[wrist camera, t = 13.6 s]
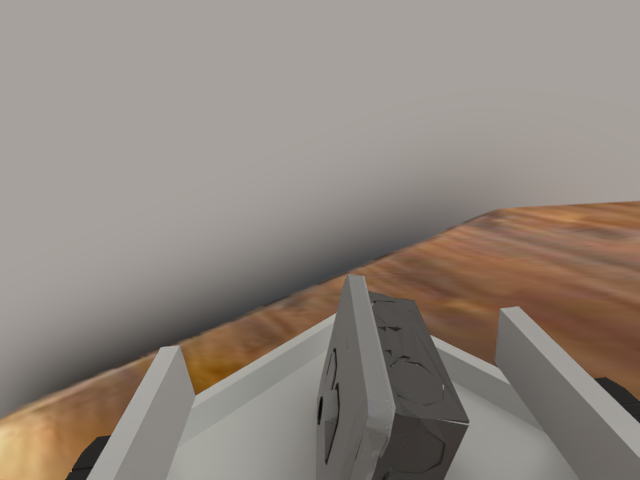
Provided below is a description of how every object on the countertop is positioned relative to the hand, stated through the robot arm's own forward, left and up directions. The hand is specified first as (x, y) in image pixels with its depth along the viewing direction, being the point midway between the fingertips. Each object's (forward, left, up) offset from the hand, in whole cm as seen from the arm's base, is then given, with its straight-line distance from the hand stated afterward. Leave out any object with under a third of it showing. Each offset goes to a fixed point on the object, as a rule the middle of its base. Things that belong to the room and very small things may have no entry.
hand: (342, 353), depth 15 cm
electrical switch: (0, -1, -8) cm, 8 cm away
